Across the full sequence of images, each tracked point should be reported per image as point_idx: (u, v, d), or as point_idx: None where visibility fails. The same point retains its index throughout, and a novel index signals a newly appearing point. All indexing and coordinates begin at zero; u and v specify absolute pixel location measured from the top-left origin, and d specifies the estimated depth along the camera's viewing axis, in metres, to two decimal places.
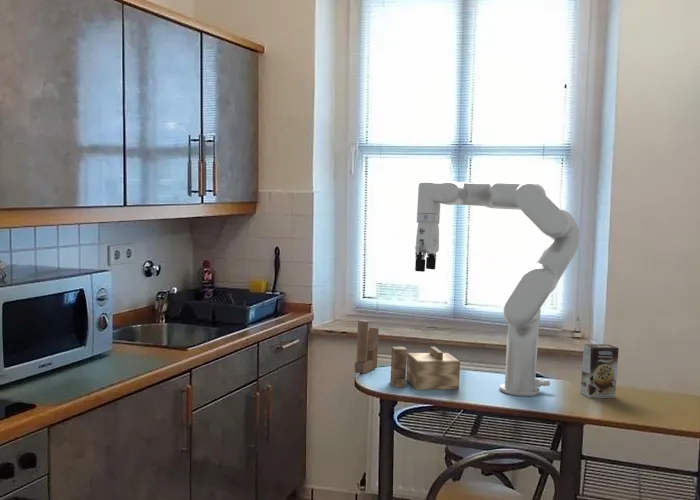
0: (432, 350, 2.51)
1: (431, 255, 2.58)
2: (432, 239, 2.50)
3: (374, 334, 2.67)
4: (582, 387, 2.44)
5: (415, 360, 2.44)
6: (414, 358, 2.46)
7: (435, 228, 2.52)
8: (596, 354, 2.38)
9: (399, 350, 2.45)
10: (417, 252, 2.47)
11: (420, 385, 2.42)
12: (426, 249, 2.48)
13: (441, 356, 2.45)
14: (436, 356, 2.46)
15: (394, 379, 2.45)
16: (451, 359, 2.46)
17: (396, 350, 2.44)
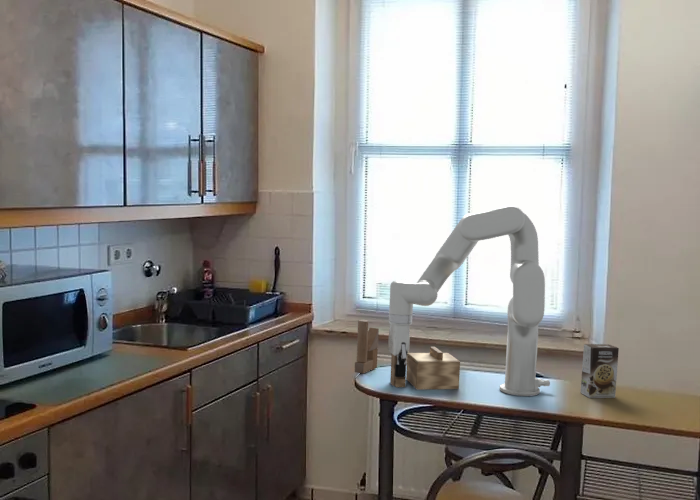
0: (432, 350, 2.51)
1: None
2: (389, 337, 2.48)
3: (374, 334, 2.67)
4: (582, 387, 2.44)
5: (415, 360, 2.44)
6: (414, 358, 2.46)
7: (391, 328, 2.46)
8: (596, 354, 2.38)
9: None
10: None
11: (420, 385, 2.42)
12: None
13: (441, 356, 2.45)
14: (436, 356, 2.46)
15: (394, 379, 2.45)
16: (451, 359, 2.46)
17: None
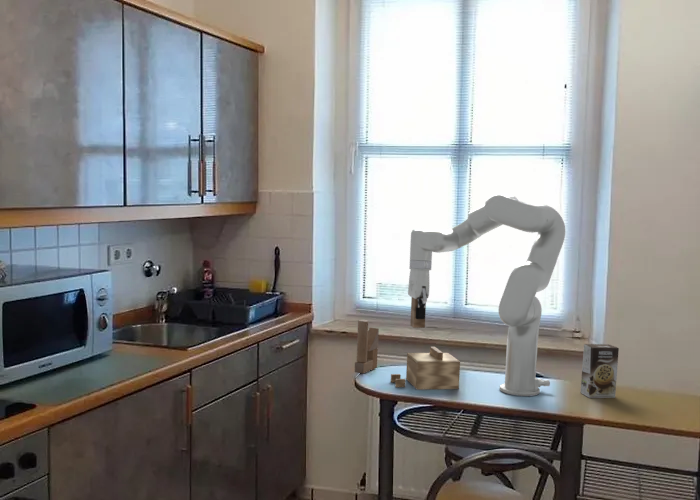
0: (432, 350, 2.51)
1: None
2: (410, 283, 2.65)
3: (374, 334, 2.67)
4: (582, 387, 2.44)
5: (415, 360, 2.44)
6: (414, 358, 2.46)
7: (412, 273, 2.62)
8: (596, 354, 2.38)
9: None
10: None
11: (420, 385, 2.42)
12: None
13: (441, 356, 2.45)
14: (436, 356, 2.46)
15: (415, 321, 2.62)
16: (451, 359, 2.46)
17: None
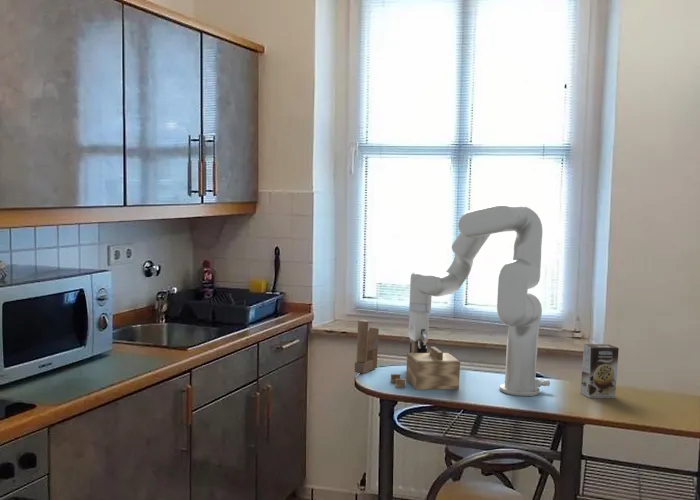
0: (432, 350, 2.51)
1: None
2: (409, 325, 2.67)
3: (374, 334, 2.67)
4: (582, 387, 2.44)
5: (415, 360, 2.44)
6: (414, 358, 2.46)
7: (412, 316, 2.65)
8: (596, 354, 2.38)
9: None
10: None
11: (420, 385, 2.42)
12: None
13: (441, 356, 2.45)
14: (436, 356, 2.46)
15: None
16: (451, 359, 2.46)
17: None
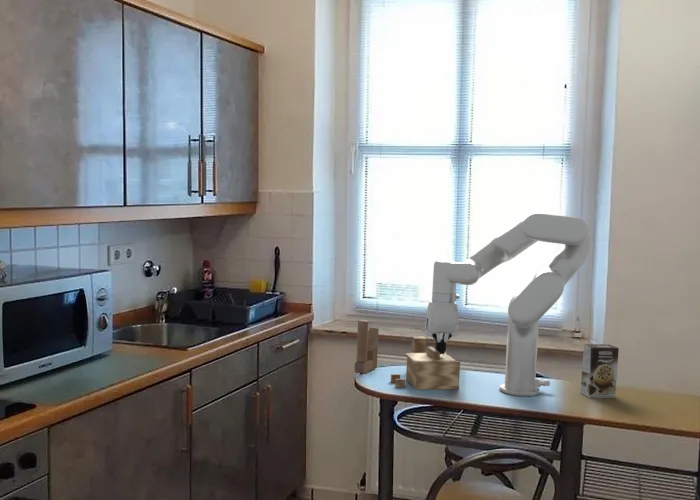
0: (429, 350, 2.50)
1: None
2: None
3: (374, 334, 2.67)
4: (582, 387, 2.44)
5: (412, 360, 2.44)
6: (411, 358, 2.45)
7: None
8: (596, 354, 2.38)
9: (419, 339, 2.64)
10: None
11: (420, 385, 2.42)
12: None
13: (438, 356, 2.45)
14: (433, 356, 2.46)
15: None
16: (448, 359, 2.46)
17: (416, 339, 2.64)
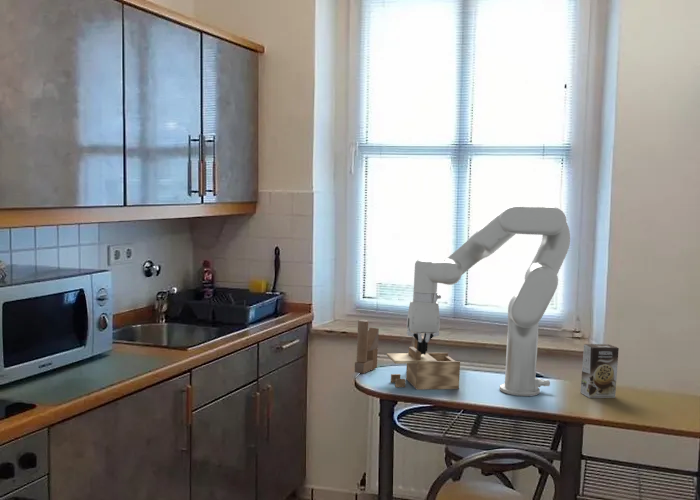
0: (411, 350, 2.49)
1: None
2: None
3: (374, 334, 2.67)
4: (582, 387, 2.44)
5: (393, 360, 2.43)
6: (392, 358, 2.44)
7: None
8: (596, 354, 2.38)
9: None
10: None
11: (420, 385, 2.42)
12: None
13: (419, 356, 2.43)
14: (414, 356, 2.45)
15: None
16: (429, 359, 2.45)
17: None
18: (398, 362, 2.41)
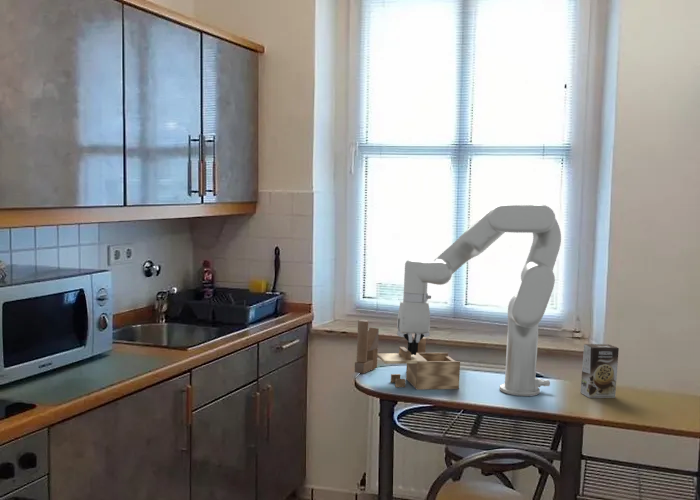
0: (401, 350, 2.49)
1: None
2: None
3: (374, 334, 2.67)
4: (582, 387, 2.44)
5: (383, 360, 2.43)
6: (382, 358, 2.44)
7: None
8: (596, 354, 2.38)
9: None
10: None
11: (420, 385, 2.42)
12: None
13: (409, 356, 2.43)
14: (404, 356, 2.44)
15: None
16: (420, 359, 2.44)
17: None
18: (388, 362, 2.40)
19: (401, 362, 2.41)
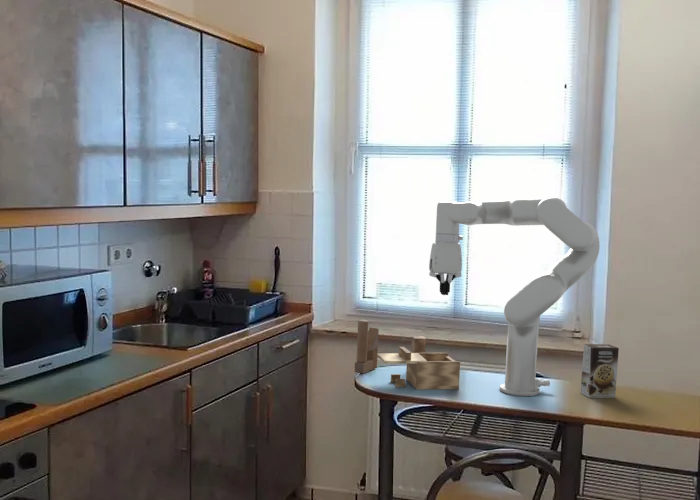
0: (401, 350, 2.49)
1: None
2: None
3: (374, 334, 2.67)
4: (582, 387, 2.44)
5: (383, 360, 2.43)
6: (382, 358, 2.44)
7: None
8: (596, 354, 2.38)
9: (419, 339, 2.64)
10: (455, 277, 2.52)
11: (420, 385, 2.42)
12: None
13: (409, 356, 2.43)
14: (404, 356, 2.44)
15: None
16: (419, 359, 2.44)
17: (416, 339, 2.64)
18: (388, 362, 2.40)
19: (401, 362, 2.41)
